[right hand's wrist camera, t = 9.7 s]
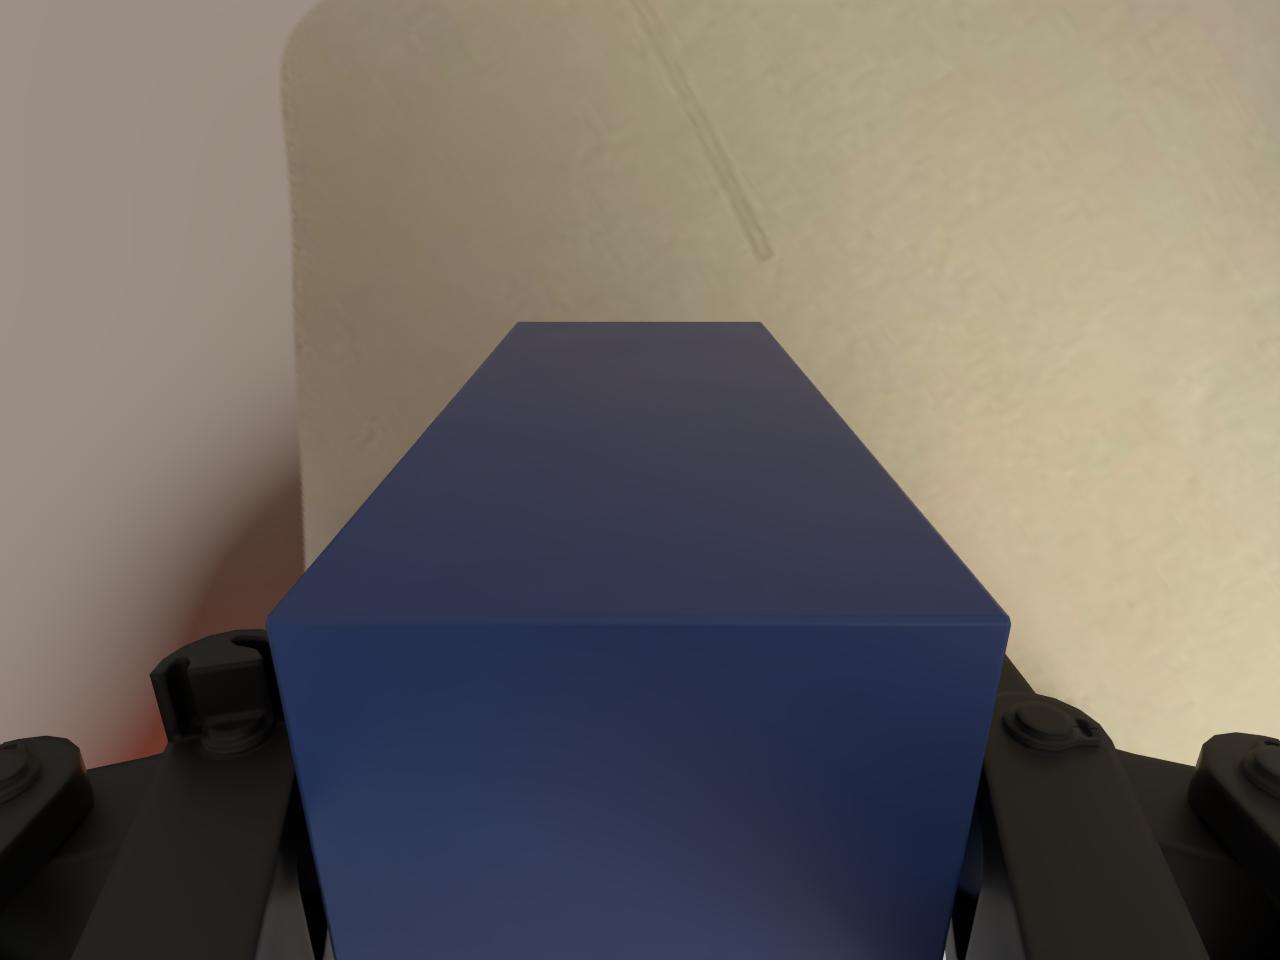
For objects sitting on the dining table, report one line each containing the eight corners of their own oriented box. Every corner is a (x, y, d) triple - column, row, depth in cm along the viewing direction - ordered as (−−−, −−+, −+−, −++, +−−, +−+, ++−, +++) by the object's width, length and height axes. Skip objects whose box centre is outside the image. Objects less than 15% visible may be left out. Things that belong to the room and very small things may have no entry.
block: (516, 321, 16) (259, 618, 5) (761, 321, 16) (1016, 619, 5) (533, 600, 18) (381, 1200, 8) (746, 600, 18) (896, 1200, 8)
